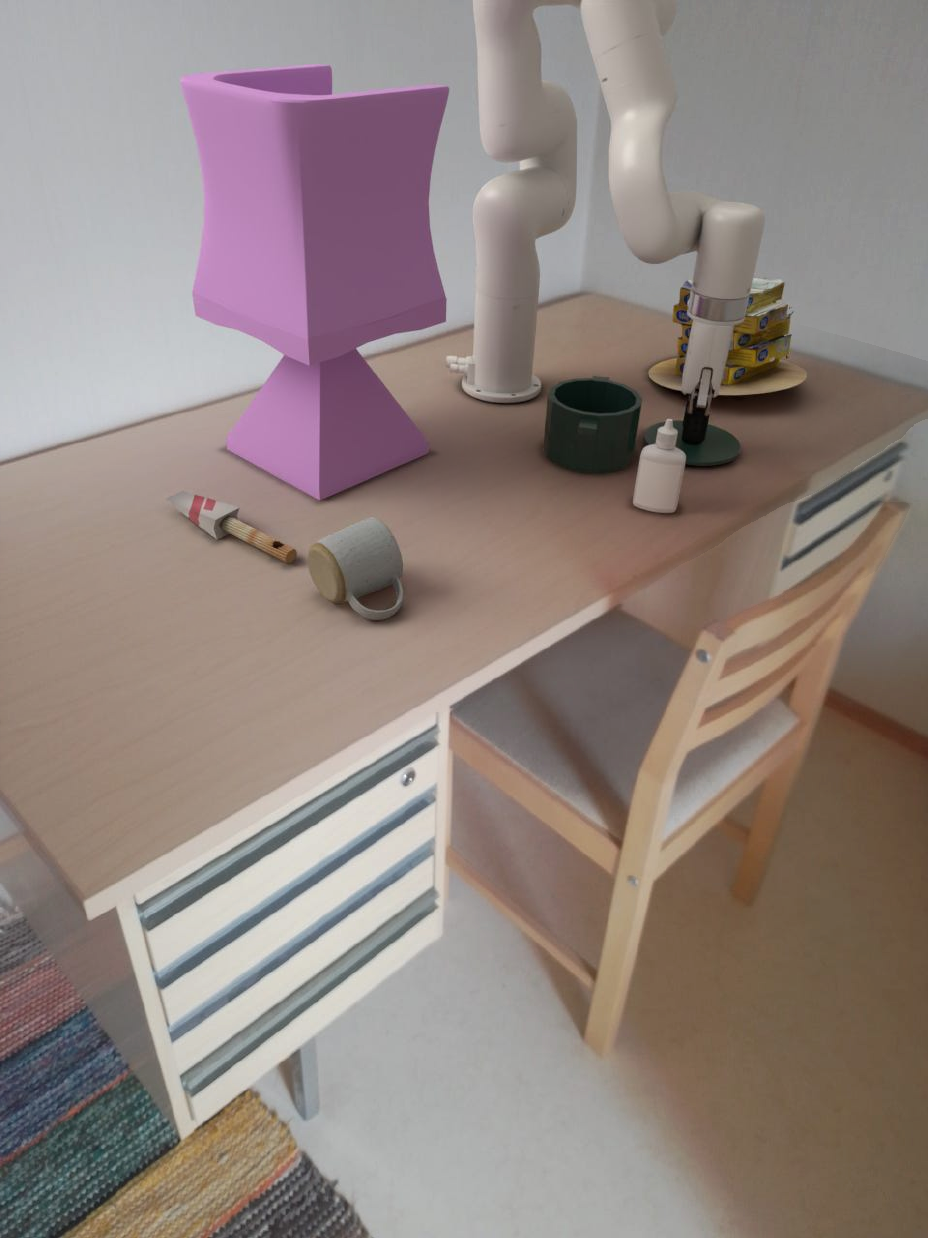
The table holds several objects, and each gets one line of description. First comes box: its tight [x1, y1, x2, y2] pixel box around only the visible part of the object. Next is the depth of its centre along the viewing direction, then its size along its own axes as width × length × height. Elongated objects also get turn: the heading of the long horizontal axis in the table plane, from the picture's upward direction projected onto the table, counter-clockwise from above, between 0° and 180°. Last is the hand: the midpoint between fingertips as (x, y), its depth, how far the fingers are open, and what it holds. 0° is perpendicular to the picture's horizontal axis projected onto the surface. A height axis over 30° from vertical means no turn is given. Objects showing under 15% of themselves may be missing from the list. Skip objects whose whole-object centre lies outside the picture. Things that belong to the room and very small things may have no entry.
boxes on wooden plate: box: [648, 276, 808, 398], centre depth 152 cm, size 25×25×17 cm
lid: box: [643, 405, 741, 467], centre depth 135 cm, size 14×14×6 cm
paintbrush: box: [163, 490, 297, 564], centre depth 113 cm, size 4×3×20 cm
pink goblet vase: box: [179, 63, 450, 501], centre depth 118 cm, size 22×22×45 cm
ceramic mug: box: [307, 516, 404, 621], centre depth 102 cm, size 11×8×8 cm
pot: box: [542, 375, 643, 475], centre depth 132 cm, size 13×18×8 cm
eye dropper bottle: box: [632, 418, 686, 514], centre depth 119 cm, size 4×6×12 cm
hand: (693, 432), depth 136 cm, fingers closed on lid, 3 cm apart
